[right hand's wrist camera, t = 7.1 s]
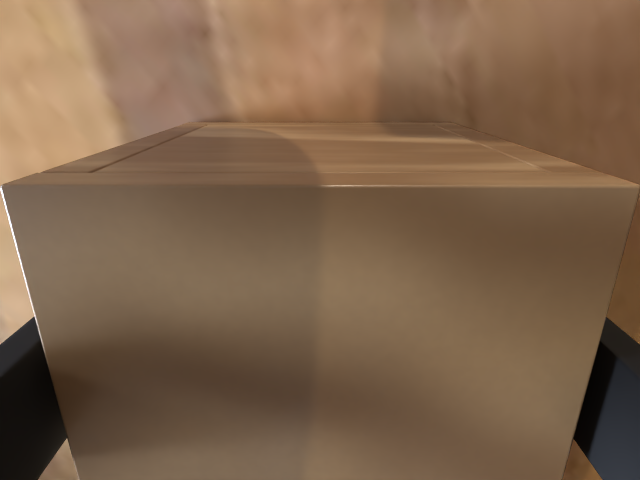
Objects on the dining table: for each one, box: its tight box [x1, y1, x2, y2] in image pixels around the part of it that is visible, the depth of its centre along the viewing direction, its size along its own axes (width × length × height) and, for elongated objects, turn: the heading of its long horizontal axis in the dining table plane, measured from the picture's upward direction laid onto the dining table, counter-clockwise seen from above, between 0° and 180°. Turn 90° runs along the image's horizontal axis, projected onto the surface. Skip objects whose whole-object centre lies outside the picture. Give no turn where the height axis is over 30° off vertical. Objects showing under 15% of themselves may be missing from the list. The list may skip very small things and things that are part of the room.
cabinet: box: [0, 122, 640, 480], centre depth 16 cm, size 22×11×11 cm, turn 0°
